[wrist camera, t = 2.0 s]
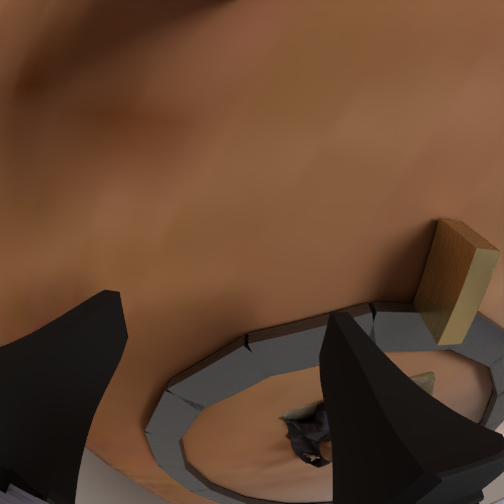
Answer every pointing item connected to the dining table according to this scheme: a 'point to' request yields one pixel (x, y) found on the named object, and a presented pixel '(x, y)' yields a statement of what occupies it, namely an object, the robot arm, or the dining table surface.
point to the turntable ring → (311, 338)
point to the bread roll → (325, 426)
